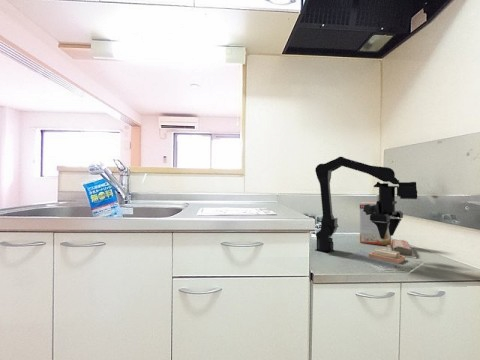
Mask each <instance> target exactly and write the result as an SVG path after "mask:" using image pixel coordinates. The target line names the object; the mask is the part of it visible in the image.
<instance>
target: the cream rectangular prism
mask: <svg viewBox="0 0 480 360" xmlns="http://www.w3.org/2000/svg"><path fill="white" fill-rule="evenodd" d="M373 252H374V255H378V256H383V257H388V258H393V259H399V258H400V252H395V251H390V250H388V249H384V248H376V249H374V250H373Z"/></svg>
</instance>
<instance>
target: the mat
mask: <svg viewBox="0 0 480 360" xmlns="http://www.w3.org/2000/svg"><path fill="white" fill-rule="evenodd" d="M370 253H371V252H368V251H363V250H358V251H356V252H353V253H351V254H348V255H346V256H344V258H345V259H350V260H355V261H358V262H362V263H366V264H370V265H376V266H380V267H386V268H389V269H392V268H394V267H395V266H397V265H398V264H397V263H392V262H387V261H383V260H378V259H373V258H369V254H370Z"/></svg>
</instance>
